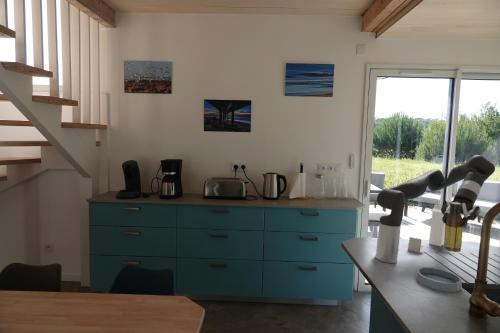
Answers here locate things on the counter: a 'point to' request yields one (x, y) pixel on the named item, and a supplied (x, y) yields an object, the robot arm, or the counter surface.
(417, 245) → the beige square block
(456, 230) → the sauce bottle
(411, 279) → the counter surface
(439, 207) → the milk
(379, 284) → the counter surface
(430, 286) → the round grey tray
